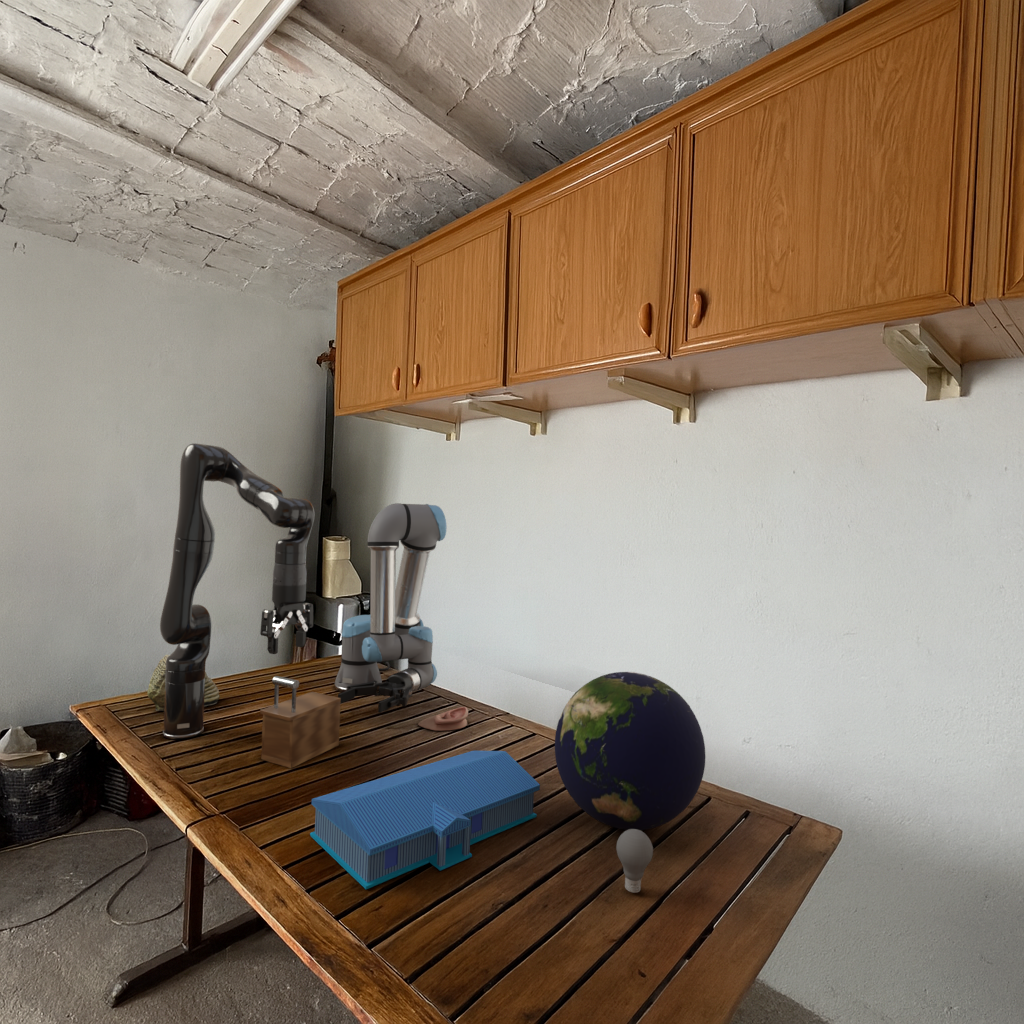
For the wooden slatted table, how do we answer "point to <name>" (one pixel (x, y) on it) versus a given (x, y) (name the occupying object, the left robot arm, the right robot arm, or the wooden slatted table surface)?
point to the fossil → (158, 687)
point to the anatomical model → (446, 720)
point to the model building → (423, 815)
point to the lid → (296, 701)
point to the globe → (630, 751)
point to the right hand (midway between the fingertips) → (358, 703)
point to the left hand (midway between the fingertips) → (287, 650)
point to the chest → (300, 736)
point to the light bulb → (634, 857)
